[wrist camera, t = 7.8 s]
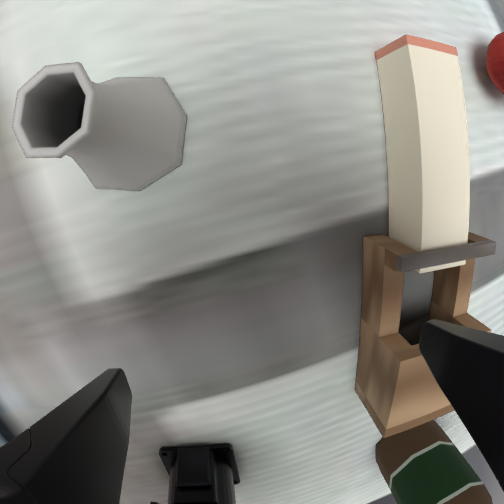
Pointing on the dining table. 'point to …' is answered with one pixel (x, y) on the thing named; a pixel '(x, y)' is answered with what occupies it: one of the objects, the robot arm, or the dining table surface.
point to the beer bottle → (428, 468)
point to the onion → (496, 61)
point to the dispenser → (387, 326)
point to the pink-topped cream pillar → (425, 145)
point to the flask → (101, 125)
